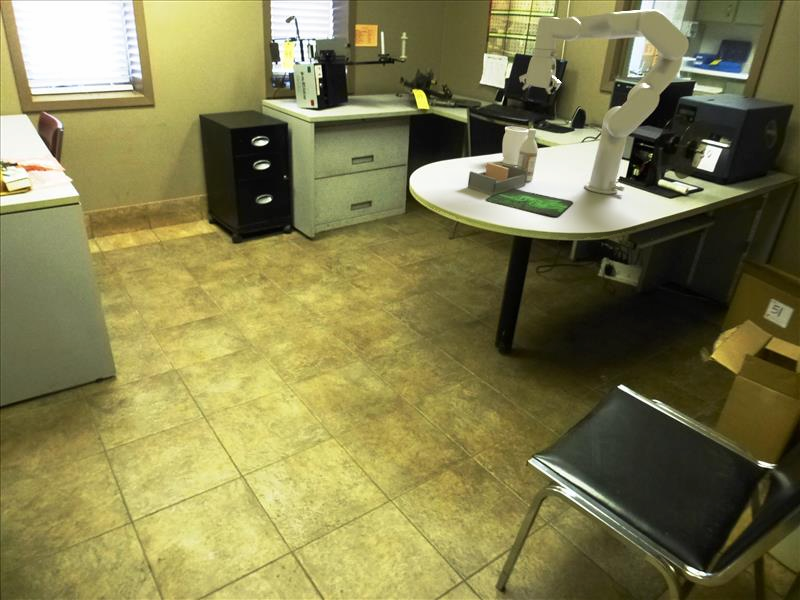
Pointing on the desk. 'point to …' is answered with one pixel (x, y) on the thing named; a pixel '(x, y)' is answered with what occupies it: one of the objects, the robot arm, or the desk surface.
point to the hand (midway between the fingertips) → (536, 102)
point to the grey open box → (492, 187)
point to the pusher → (496, 172)
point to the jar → (513, 144)
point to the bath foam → (528, 154)
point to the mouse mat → (531, 202)
